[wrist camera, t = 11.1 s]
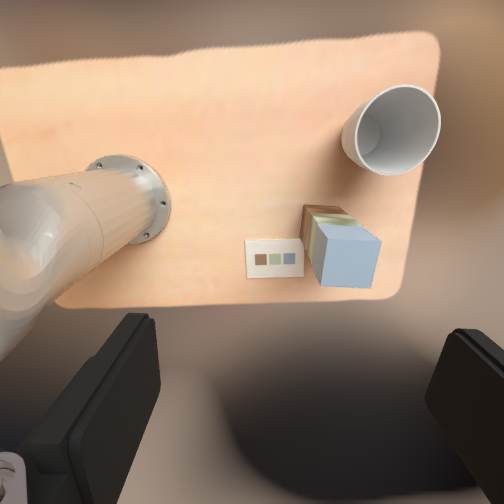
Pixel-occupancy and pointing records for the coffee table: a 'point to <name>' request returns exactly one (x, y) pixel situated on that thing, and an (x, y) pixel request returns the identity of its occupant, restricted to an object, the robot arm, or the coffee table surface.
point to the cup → (393, 130)
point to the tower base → (315, 210)
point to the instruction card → (274, 258)
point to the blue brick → (345, 256)
